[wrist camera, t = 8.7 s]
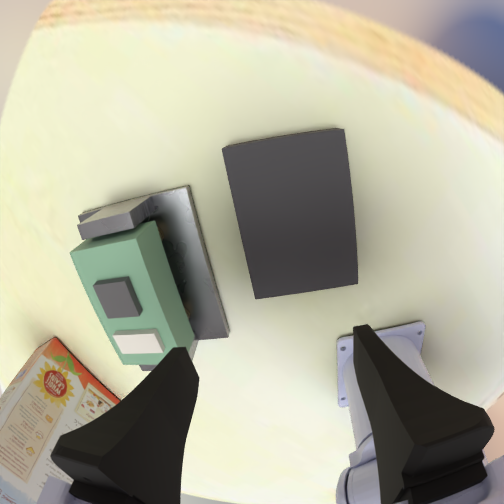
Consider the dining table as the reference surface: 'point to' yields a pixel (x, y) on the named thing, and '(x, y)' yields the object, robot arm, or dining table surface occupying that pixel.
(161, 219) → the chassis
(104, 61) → the dining table surface
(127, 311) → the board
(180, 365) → the robot arm
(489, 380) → the dining table surface
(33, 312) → the dining table surface
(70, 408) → the cracker box
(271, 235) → the pad
